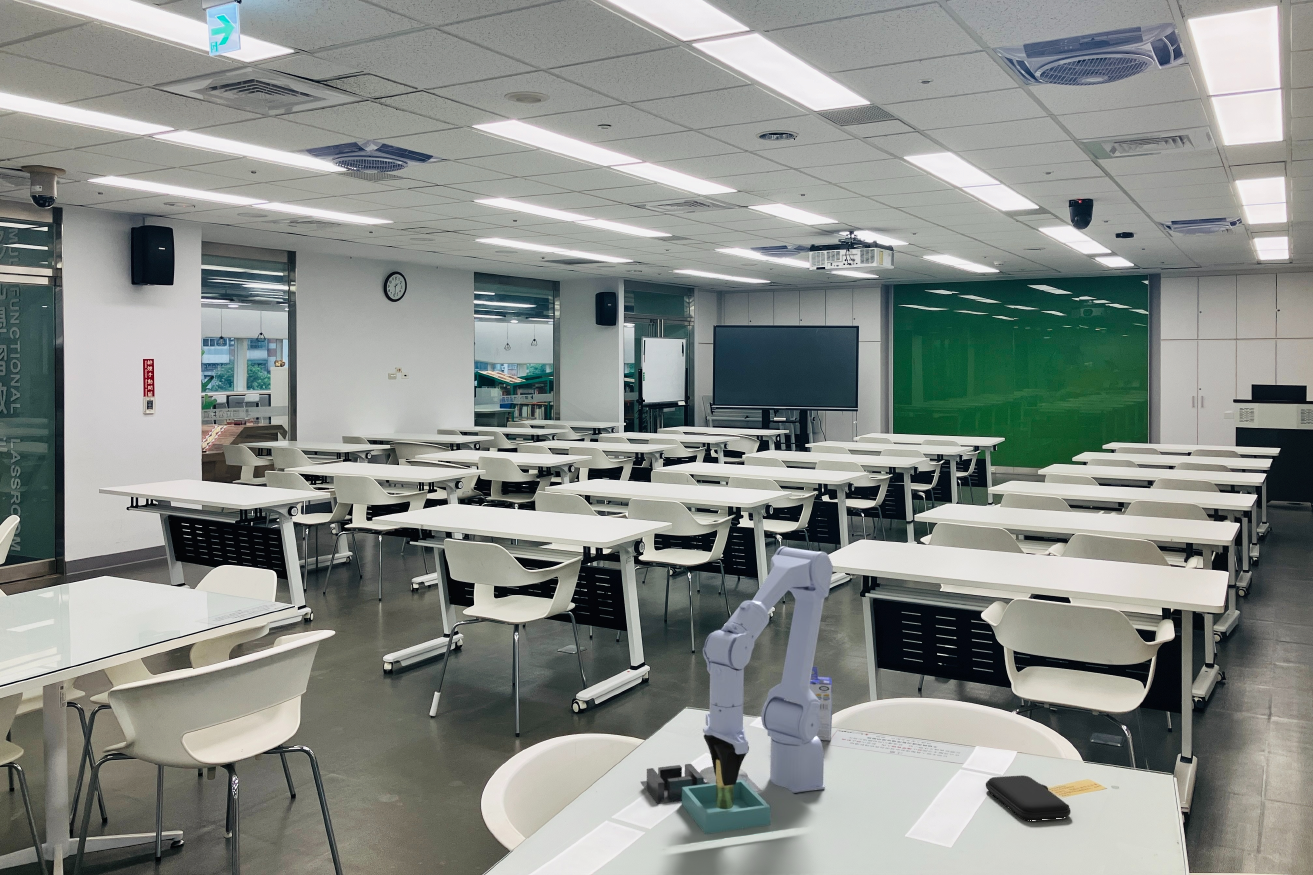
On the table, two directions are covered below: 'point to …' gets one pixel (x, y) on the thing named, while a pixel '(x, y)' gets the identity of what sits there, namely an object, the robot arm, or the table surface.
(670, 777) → the plate
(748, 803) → the tray
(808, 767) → the robot arm
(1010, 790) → the carrying case or bag
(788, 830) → the table surface
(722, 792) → the pin
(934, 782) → the table surface
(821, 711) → the ink cartridge box
